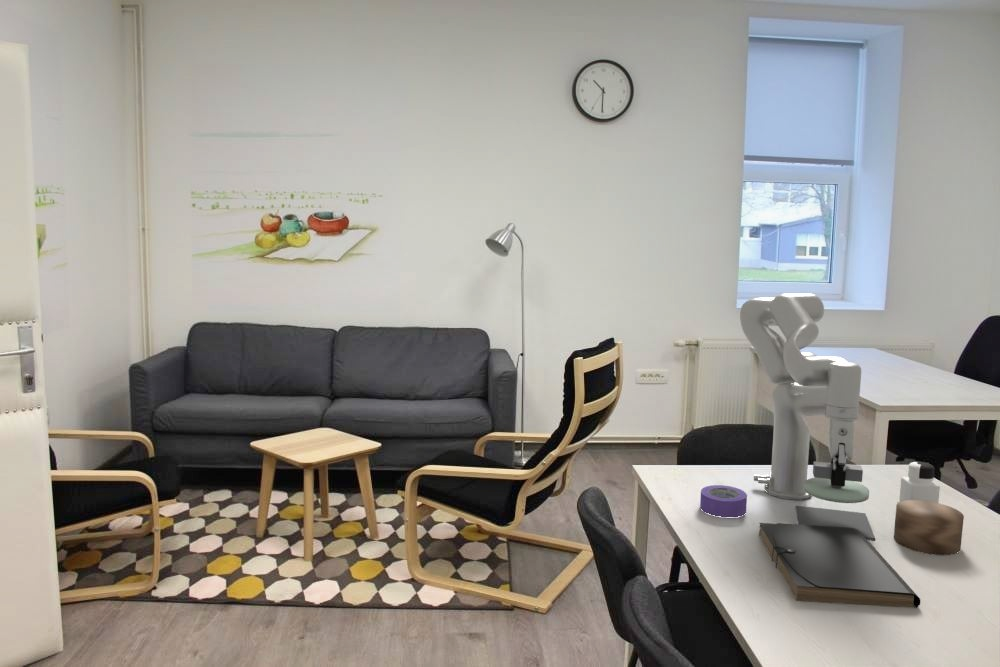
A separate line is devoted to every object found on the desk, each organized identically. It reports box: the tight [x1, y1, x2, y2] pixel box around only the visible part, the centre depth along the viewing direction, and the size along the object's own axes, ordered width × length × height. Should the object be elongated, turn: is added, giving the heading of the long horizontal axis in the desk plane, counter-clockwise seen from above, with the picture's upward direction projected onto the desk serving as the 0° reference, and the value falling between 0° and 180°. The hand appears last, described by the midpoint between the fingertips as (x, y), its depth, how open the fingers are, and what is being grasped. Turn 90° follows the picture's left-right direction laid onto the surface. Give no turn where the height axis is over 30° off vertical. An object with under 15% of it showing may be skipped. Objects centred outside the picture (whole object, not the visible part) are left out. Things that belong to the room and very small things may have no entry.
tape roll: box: [699, 484, 748, 517], centre depth 203 cm, size 12×12×5 cm
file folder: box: [758, 522, 921, 608], centre depth 170 cm, size 33×4×24 cm
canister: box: [893, 500, 965, 556], centre depth 183 cm, size 14×14×8 cm
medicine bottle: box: [899, 461, 941, 503], centre depth 206 cm, size 7×7×12 cm
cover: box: [804, 460, 870, 504], centre depth 193 cm, size 15×15×7 cm
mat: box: [795, 504, 876, 541], centre depth 195 cm, size 17×17×1 cm
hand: (836, 481), depth 194 cm, fingers closed on cover, 4 cm apart
